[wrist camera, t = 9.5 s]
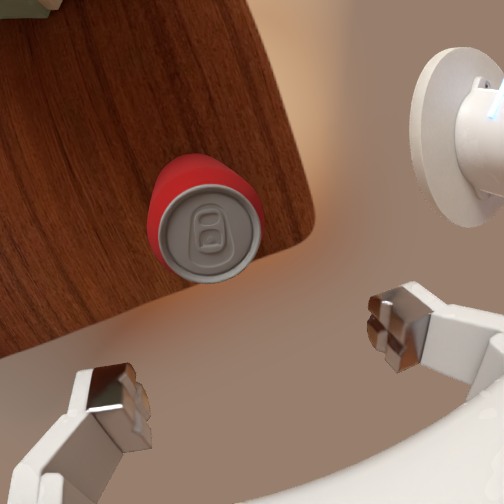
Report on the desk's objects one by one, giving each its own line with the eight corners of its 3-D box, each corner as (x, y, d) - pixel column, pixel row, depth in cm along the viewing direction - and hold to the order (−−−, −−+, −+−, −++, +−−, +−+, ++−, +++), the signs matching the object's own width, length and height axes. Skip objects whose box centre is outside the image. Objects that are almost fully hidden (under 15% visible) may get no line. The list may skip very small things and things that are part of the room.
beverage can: (158, 232, 28) (155, 303, 17) (150, 156, 25) (136, 179, 14) (233, 223, 29) (274, 286, 19) (230, 148, 27) (273, 166, 16)
